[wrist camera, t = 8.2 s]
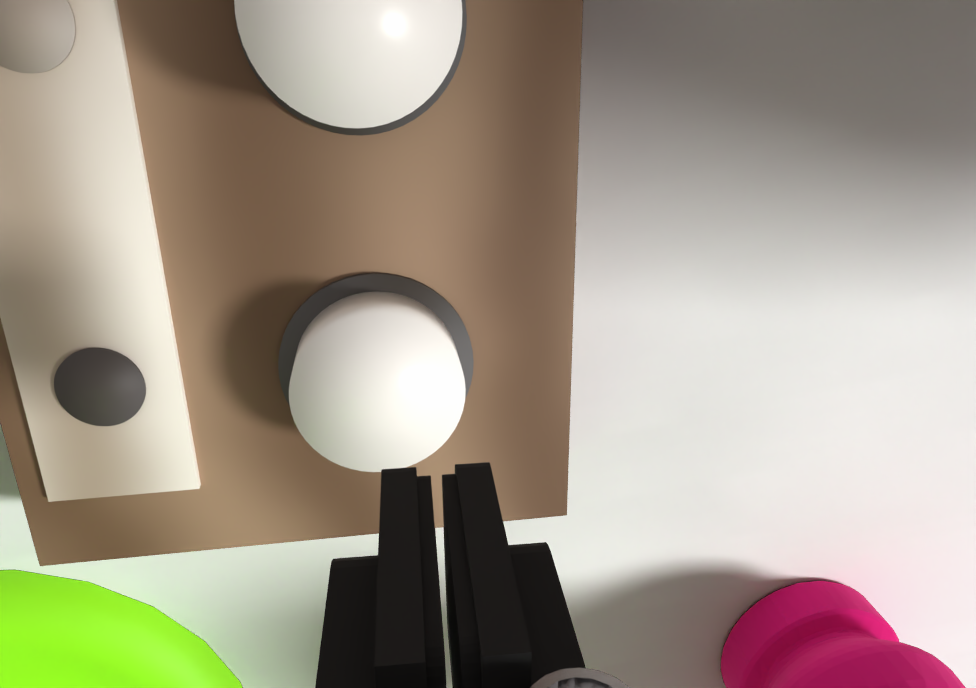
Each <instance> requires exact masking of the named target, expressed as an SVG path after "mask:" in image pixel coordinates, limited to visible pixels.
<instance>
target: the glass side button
mask: <svg viewBox="0 0 976 688" xmlns="http://www.w3.org/2000/svg"><path fill="white" fill-rule="evenodd" d="M465 392H466V388H465V379H464V375H463V370H462V367H461V364H460V360H459V357H458V353H457V350H456V347H455V344H454V341H453V339H452V336H451V334H450V332H449V331H448V329H447V327H446V326H445V324H444V323H443V322H442V320H441V319H440V318H439V317H438V316H437V315H436V314H435V313H434V312H433V311H432V310H430V309H429V308H428V307H426V306H425V305H423V304H422V303H420V302H418V301H416V300H414V299H412V298H409V297H407V296H404V295H400V294H396V293H391V292H381V291H372V292H363V293H358V294H354V295H350V296H348V297H345V298H343V299H340V300H338V301H336V302H334V303H333V304H331V305H329V306H328V307H327V308H325V309H324V310H322V311H321V312H320V313H319V314H318V315H317V316H316V317H315V318H314V319H313V320H312V322H311V323H310V324H309V325H308V327H307V328H306V330H305V332H304V333H303V335H302V337H301V340H300V342H299V345H298V349H297V352H296V357H295V361H294V365H293V370H292V374H291V378H290V384H289V404H290V409H291V414H292V416H293V419H294V422H295V424H296V426H297V428H298V430H299V432H300V433H301V435H302V436H303V437H304V439H305V440H306V441H307V442H308V444H309V445H310V446H311V447H312V448H313V449H314V450H316V451H317V452H318V453H319V454H321V455H322V456H323V457H325V458H327V459H328V460H330V461H332V462H334V463H336V464H338V465H340V466H343V467H346V468H349V469H353V470H358V471H365V472H381V470H382V469H393V468H406V467H408V466H411V465H413V464H416V463H418V462H420V461H422V460H424V459H426V458H427V457H428V456H430V455H431V454H433V453H434V452H435V451H437V450H438V449H439V448H440V447H441V446H442V445H443V444H444V443H445V442H446V441H447V440H448V438H449V437H450V436H451V434H452V433H453V431H454V430H455V428H456V426H457V424H458V422H459V420H460V418H461V415H462V412H463V408H464V403H465Z"/></svg>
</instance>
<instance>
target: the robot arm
mask: <svg viewBox="0 0 976 688" xmlns="http://www.w3.org/2000/svg"><path fill="white" fill-rule="evenodd" d="M442 497H443V524H444V550H445V576H446V602H447V624H448V638H449V650H450V661H451V673H452V685H453V688H630V687H628V686H627V685H626V684H624V683H623V682H622V681H620V680H619V679H617V678H616V677H614V676H611V675H609V674H606V673H604V672H601V671H599V670H593V669H587V668H585V664H584V661H583V658H582V654H581V651H580V648H579V644H578V641H577V638H576V634H575V631H574V628H573V624H572V621H571V618H570V615H569V611H568V608H567V605H566V601H565V598H564V595H563V591H562V588H561V585H560V581H559V578H558V575H557V571H556V568H555V565H554V561H553V558H552V555H551V551H550V549H549V546H548V544H547V543H546V542H545V543H532V544H519V545H508V542H507V538H506V533H505V528H504V524H503V519H502V515H501V510H500V506H499V501H498V497H497V492H496V488H495V483H494V479H493V474H492V469H491V465H490V463H489V462H483V463H468V464H455V474H443V475H442ZM315 688H446V670H445V653H444V639H443V626H442V613H441V600H440V587H439V575H438V562H437V549H436V536H435V523H434V510H433V498H432V485H431V475H428V476H417V469H416V467H408V468H393V469H382V470H381V493H380V520H379V548H378V555H377V556H365V557H352V558H339V559H333V560H332V563H331V568H330V576H329V584H328V592H327V600H326V608H325V616H324V623H323V631H322V639H321V647H320V655H319V663H318V671H317V679H316V687H315Z"/></svg>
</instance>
